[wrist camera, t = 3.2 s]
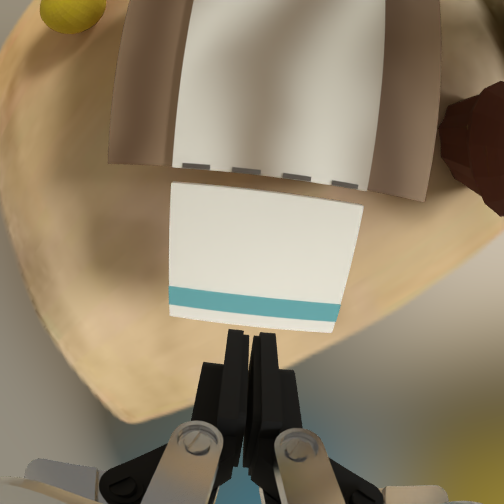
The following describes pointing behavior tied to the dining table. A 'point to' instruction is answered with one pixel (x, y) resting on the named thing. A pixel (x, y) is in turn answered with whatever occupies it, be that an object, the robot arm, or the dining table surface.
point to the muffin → (477, 144)
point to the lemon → (71, 14)
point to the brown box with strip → (282, 90)
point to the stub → (259, 256)
